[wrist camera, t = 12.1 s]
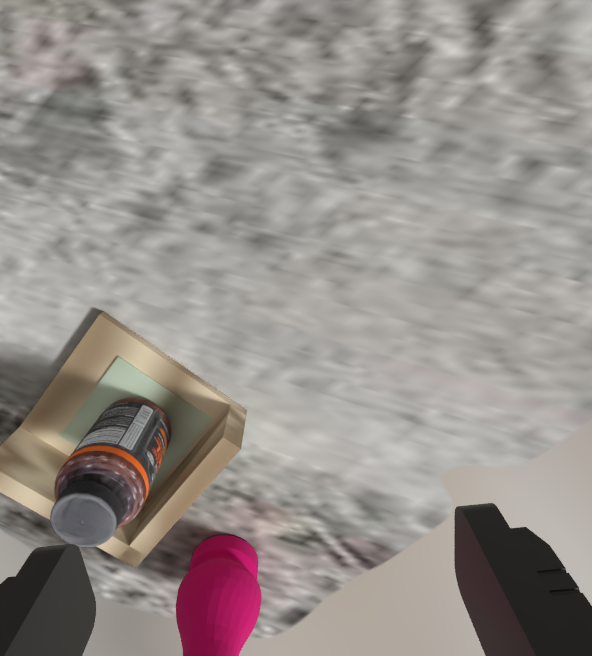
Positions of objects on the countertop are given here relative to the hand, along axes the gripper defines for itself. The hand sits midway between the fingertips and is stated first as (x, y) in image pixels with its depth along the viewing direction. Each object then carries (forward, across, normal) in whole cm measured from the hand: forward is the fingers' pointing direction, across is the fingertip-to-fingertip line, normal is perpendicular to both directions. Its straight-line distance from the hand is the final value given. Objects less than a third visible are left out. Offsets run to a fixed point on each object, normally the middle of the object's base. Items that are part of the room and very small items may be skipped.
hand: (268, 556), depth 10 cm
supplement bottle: (+27, +13, +11) cm, 32 cm away
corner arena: (+28, +14, +11) cm, 33 cm away
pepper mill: (+28, +8, +27) cm, 40 cm away
